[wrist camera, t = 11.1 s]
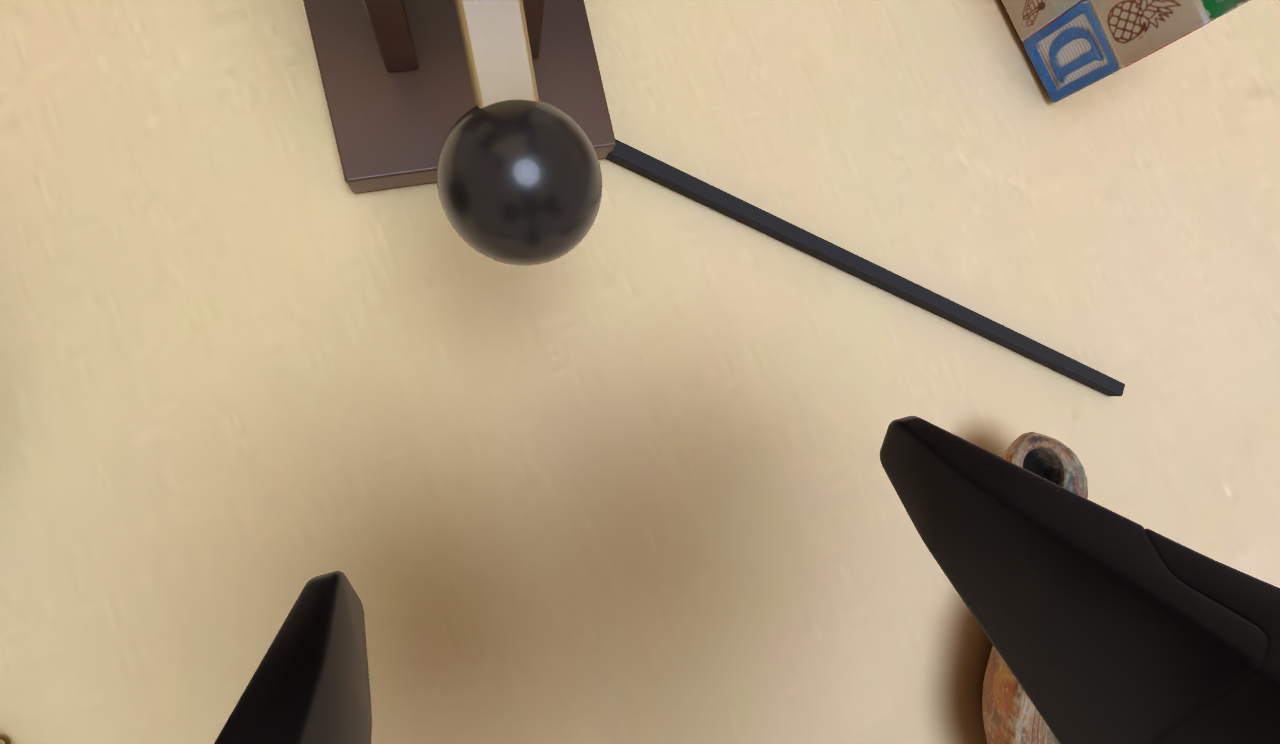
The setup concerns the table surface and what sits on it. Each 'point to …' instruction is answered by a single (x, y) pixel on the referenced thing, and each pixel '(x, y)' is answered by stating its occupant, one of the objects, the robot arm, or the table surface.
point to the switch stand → (435, 80)
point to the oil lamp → (1007, 710)
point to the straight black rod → (858, 266)
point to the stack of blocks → (1102, 34)
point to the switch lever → (514, 150)
